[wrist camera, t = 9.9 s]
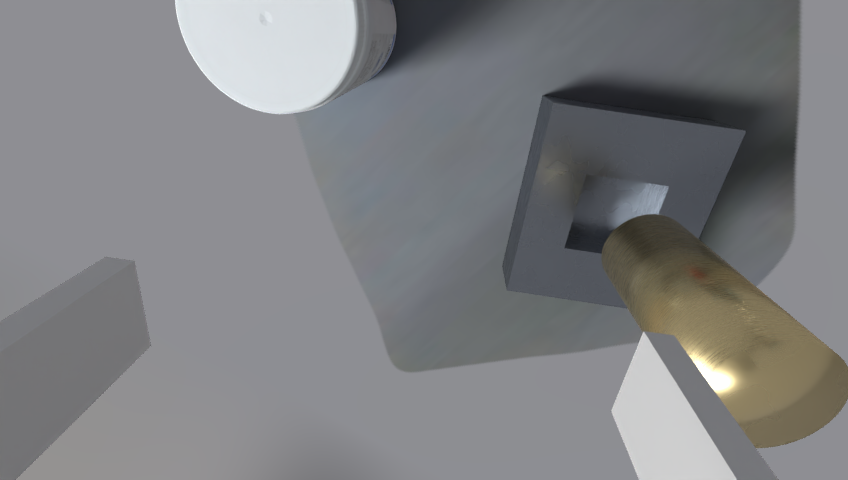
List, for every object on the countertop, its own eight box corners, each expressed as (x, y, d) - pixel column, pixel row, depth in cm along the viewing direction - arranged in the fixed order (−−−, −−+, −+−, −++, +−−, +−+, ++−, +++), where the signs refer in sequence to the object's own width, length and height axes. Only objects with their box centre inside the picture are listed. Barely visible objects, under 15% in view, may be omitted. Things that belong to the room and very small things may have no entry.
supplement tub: (265, -34, 33) (134, -84, 20) (386, -59, 32) (333, -131, 19) (299, 97, 37) (209, 129, 24) (408, 79, 36) (378, 102, 22)
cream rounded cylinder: (616, 208, 28) (731, 330, 16) (703, 220, 28) (882, 353, 16) (591, 282, 30) (674, 436, 18) (671, 294, 30) (806, 457, 18)
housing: (542, 95, 35) (553, 102, 31) (713, 120, 35) (746, 130, 31) (502, 266, 42) (506, 290, 38) (645, 287, 42) (665, 314, 38)
